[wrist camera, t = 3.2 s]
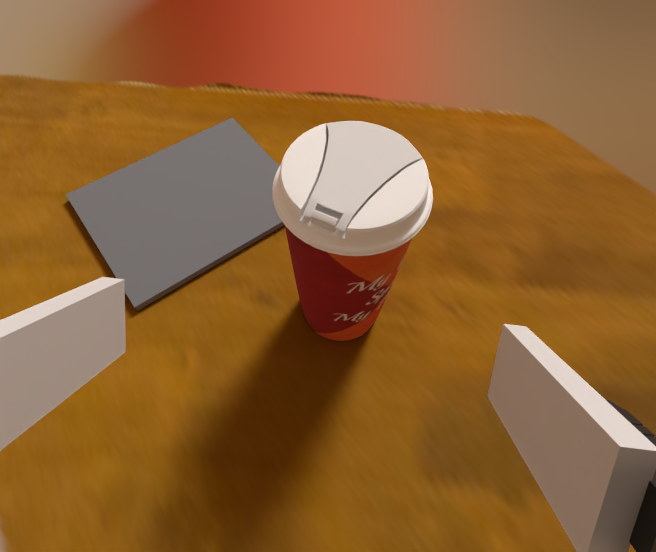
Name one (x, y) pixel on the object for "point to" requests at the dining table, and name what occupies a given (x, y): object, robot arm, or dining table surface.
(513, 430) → the robot arm
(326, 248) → the paper cup
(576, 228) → the dining table surface
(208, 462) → the dining table surface
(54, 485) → the dining table surface
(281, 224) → the mat
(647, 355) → the dining table surface
